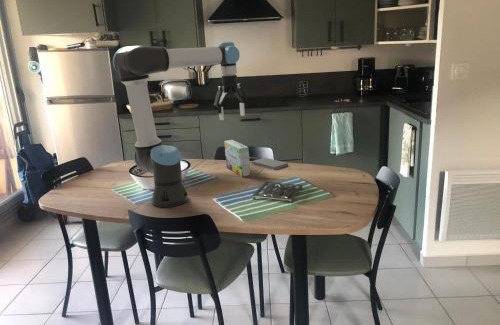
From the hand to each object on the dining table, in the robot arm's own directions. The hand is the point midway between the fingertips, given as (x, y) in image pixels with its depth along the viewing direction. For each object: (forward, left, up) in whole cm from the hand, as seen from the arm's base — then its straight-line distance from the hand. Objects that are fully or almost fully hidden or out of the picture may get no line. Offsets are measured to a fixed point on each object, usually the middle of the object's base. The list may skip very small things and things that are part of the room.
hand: (232, 117), depth 203 cm
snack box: (-1, -1, -29) cm, 29 cm away
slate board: (-5, -20, -28) cm, 35 cm away
